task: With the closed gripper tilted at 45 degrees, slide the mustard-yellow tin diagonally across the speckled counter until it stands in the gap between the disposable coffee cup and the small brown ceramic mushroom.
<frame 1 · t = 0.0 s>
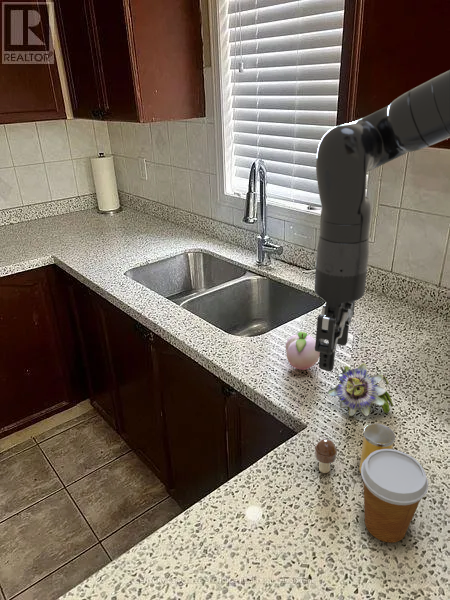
hand: (333, 355, 74), 23 cm above the worktop, tool pointing down, fingers open, 8 cm apart
passion flower: (359, 405, 98), on the worktop
decorative fruit: (301, 368, 111), on the worktop
yellow tin: (373, 471, 81), on the worktop
disposable coffee cup: (384, 525, 72), on the worktop
mushroom: (324, 469, 82), on the worktop
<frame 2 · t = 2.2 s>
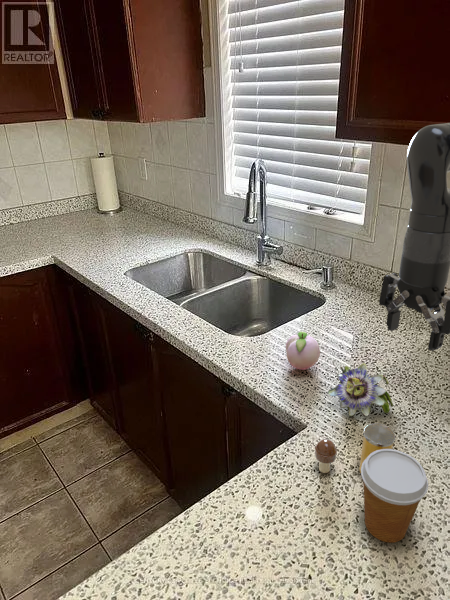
hand: (412, 338, 80), 22 cm above the worktop, tool pointing down, fingers open, 8 cm apart
nothing on the worktop moved.
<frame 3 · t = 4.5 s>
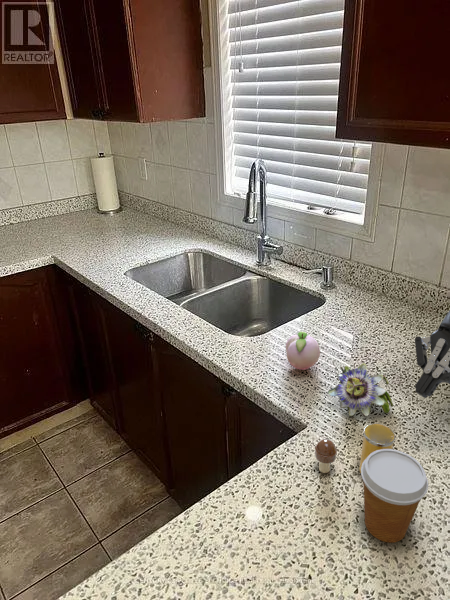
hand: (420, 394, 80), 13 cm above the worktop, tool tilted 45°, fingers closed
nothing on the worktop moved.
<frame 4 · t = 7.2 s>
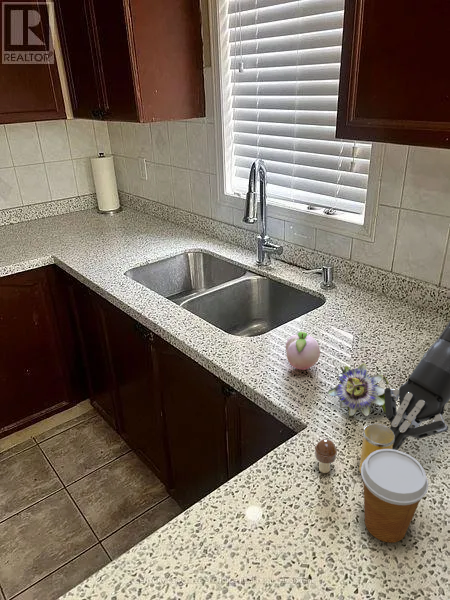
hand: (387, 448, 81), 4 cm above the worktop, tool tilted 45°, fingers closed
yellow tin: (373, 471, 81), on the worktop, touching gripper
everything else where it was.
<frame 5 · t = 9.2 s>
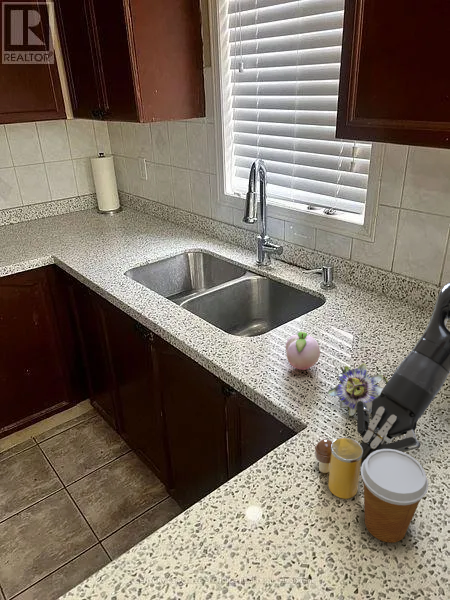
hand: (358, 464, 78), 4 cm above the worktop, tool tilted 45°, fingers closed
yellow tin: (342, 486, 78), on the worktop, touching gripper
everything else where it was.
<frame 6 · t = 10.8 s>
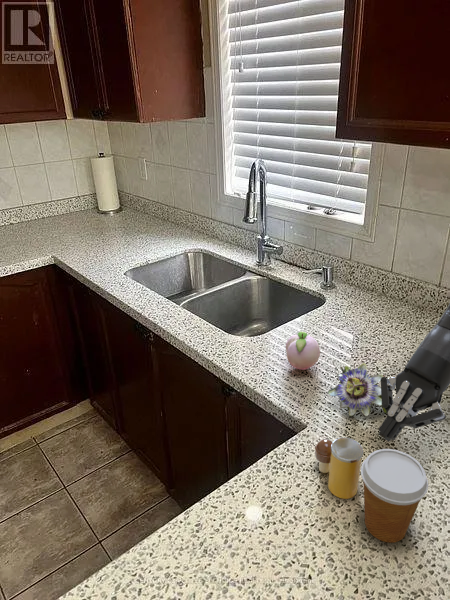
hand: (383, 438, 79), 7 cm above the worktop, tool tilted 45°, fingers closed
yellow tin: (342, 487, 78), on the worktop
everything else where it was.
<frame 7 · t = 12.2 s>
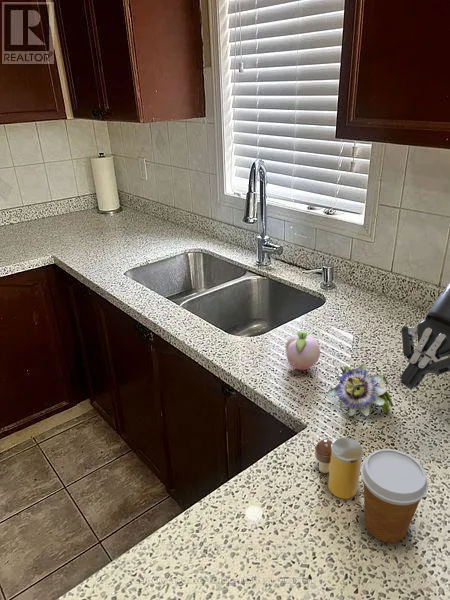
hand: (405, 385, 78), 16 cm above the worktop, tool tilted 45°, fingers closed
nothing on the worktop moved.
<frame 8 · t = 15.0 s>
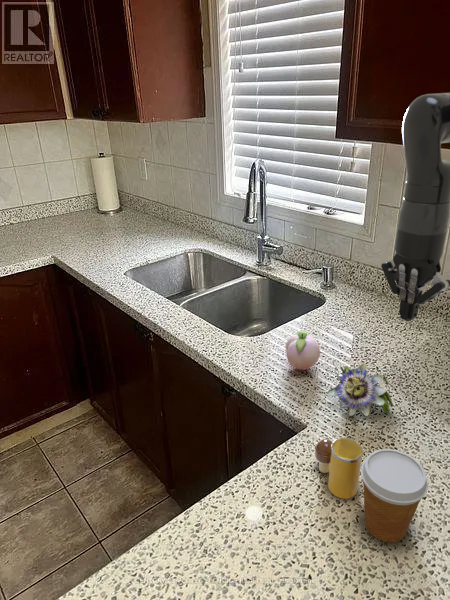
hand: (407, 318, 81), 25 cm above the worktop, tool pointing down, fingers closed
nothing on the worktop moved.
at the end: yellow tin 0.6 cm from the target spot, on the worktop; yellow tin tilted 0°; disposable coffee cup moved 0.2 cm from its start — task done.
